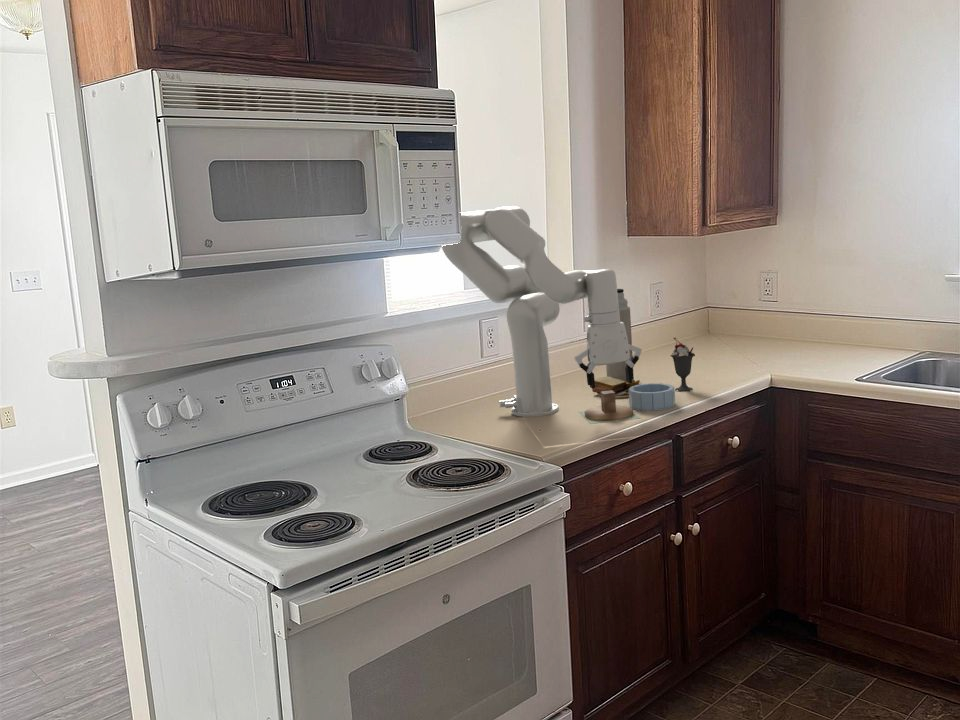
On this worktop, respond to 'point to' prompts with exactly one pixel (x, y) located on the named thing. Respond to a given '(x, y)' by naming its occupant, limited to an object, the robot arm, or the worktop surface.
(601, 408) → the lid
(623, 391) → the toy sandwich meal
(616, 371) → the thermos bottle
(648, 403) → the bowl
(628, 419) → the mat
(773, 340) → the worktop surface
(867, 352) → the worktop surface
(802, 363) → the worktop surface
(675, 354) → the sundae
